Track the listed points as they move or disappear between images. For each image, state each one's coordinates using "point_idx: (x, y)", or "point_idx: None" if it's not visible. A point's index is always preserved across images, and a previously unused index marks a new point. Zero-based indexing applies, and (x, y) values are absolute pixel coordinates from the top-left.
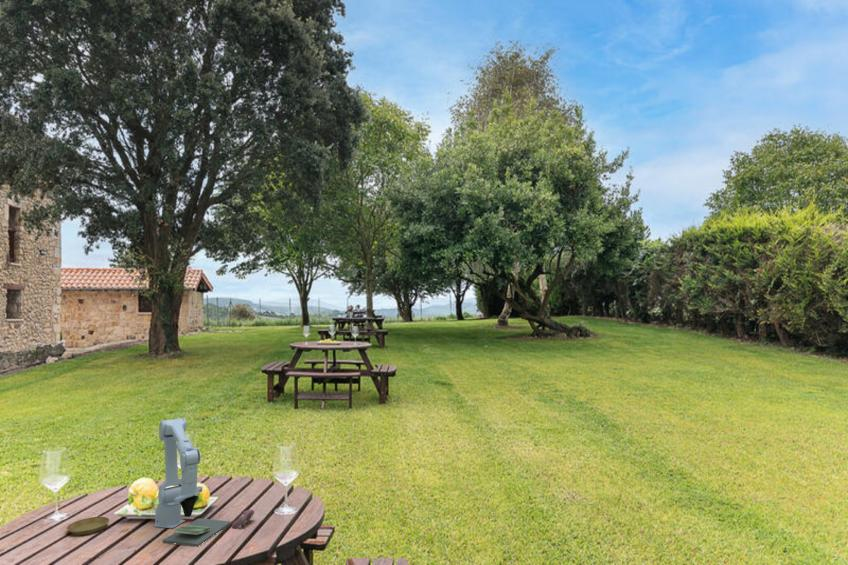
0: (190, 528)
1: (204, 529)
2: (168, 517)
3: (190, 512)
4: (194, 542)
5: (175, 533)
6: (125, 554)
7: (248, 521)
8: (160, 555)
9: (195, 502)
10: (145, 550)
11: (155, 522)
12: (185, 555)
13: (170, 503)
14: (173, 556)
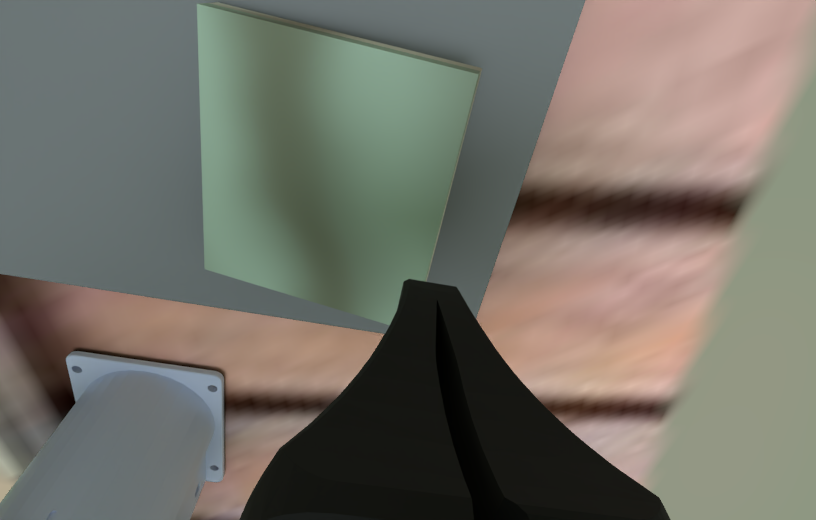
0: (342, 212)
1: (330, 37)
2: (183, 467)
3: (455, 313)
4: (539, 50)
5: (338, 313)
6: (619, 442)
7: None
8: (696, 250)
9: (345, 396)
10: (580, 374)
11: (200, 491)
12: (771, 25)
13: None
14: (753, 137)
